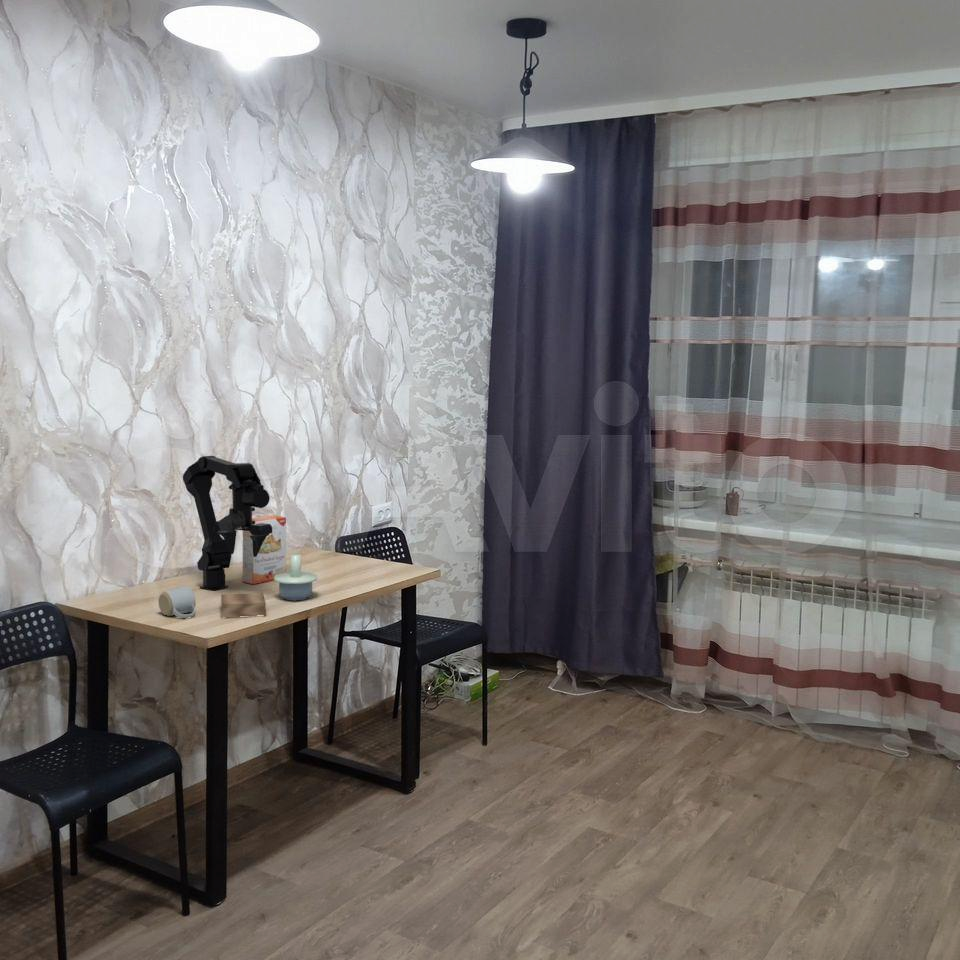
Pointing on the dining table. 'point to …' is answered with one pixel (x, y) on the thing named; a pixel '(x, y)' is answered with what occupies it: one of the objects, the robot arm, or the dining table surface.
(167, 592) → the ceramic mug
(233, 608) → the walnut stand
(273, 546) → the cracker box
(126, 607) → the dining table surface
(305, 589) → the glazed bowl
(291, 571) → the lid
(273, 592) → the dining table surface
